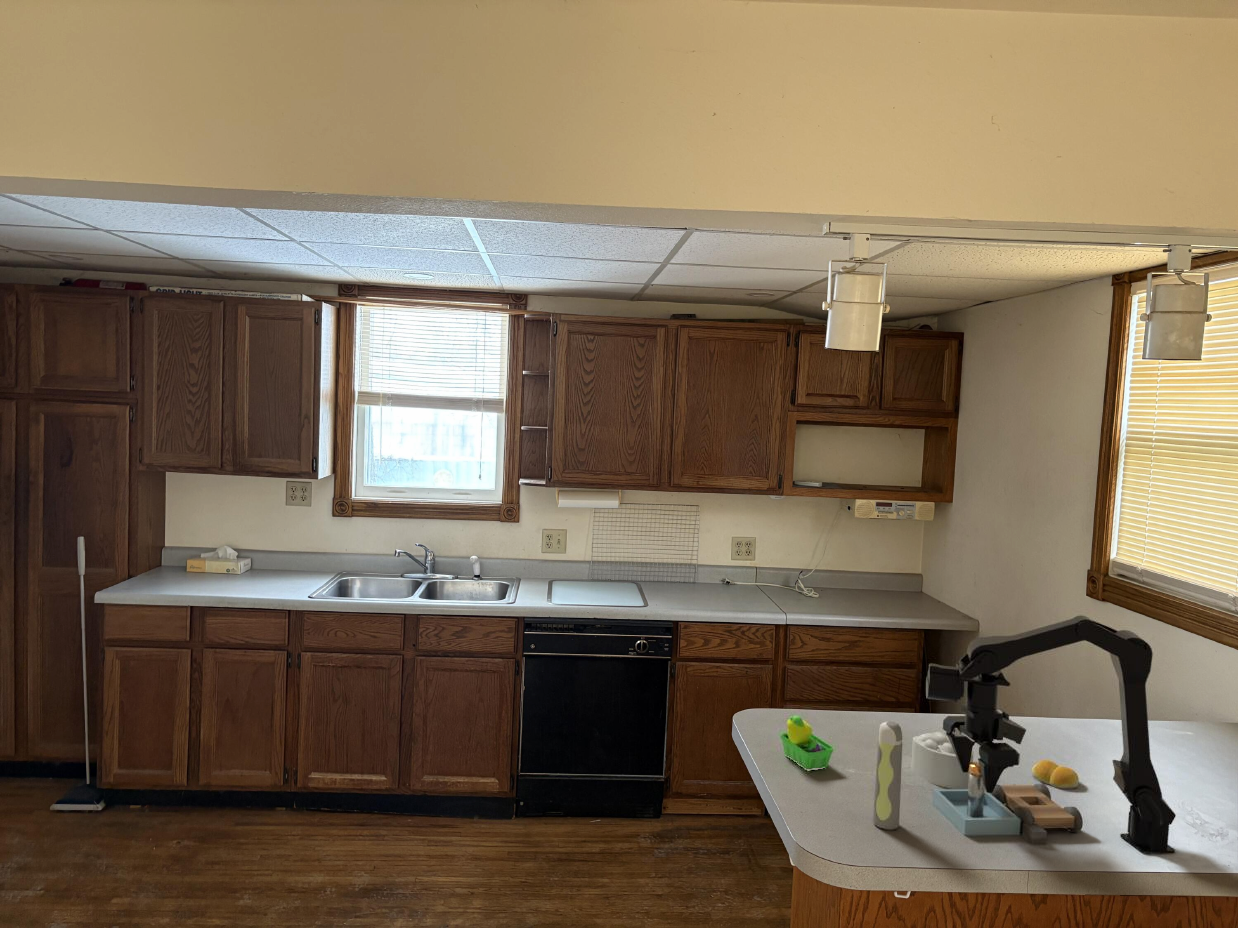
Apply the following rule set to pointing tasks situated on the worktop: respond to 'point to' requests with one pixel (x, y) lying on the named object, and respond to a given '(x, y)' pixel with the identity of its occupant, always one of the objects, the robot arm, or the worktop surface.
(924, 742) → the lumpy-topped squat cylinder
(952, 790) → the tray
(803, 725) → the fruit basket
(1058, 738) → the worktop surface
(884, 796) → the grey and yellow cylinder
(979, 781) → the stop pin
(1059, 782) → the bread roll
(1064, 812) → the dolly
